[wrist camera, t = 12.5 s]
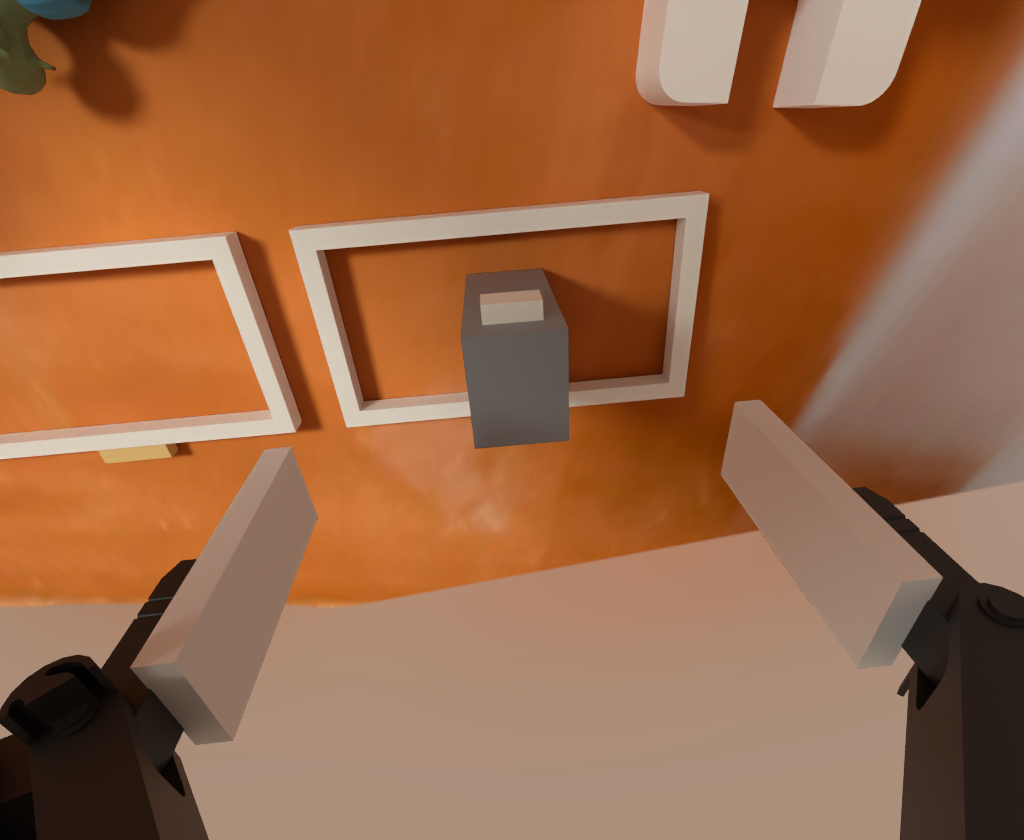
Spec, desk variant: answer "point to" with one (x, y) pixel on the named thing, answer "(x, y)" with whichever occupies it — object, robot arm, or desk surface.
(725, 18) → the white slotted bracket
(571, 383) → the socket
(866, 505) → the robot arm
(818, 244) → the desk surface
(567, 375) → the plug
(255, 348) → the socket
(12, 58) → the figurine
